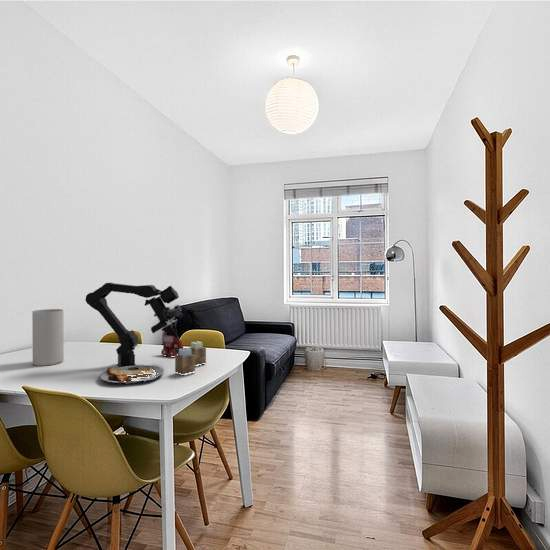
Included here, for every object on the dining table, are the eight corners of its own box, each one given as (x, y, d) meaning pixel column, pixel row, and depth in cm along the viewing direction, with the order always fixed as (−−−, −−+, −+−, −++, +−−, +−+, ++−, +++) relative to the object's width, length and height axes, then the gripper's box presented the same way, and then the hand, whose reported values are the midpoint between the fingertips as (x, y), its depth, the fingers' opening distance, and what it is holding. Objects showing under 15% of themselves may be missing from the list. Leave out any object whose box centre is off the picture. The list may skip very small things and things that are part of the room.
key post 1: (195, 367, 165) (195, 349, 165) (187, 364, 169) (187, 347, 169) (205, 364, 170) (205, 347, 170) (198, 362, 174) (198, 345, 174)
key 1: (195, 360, 167) (196, 343, 167) (191, 359, 169) (191, 342, 169) (202, 359, 170) (202, 342, 170) (197, 357, 172) (197, 341, 172)
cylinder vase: (48, 367, 164) (48, 312, 163) (25, 365, 166) (25, 311, 166) (69, 360, 176) (69, 309, 176) (48, 358, 179) (47, 308, 178)
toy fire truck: (177, 358, 181) (177, 338, 181) (158, 356, 186) (158, 336, 186) (186, 355, 187) (186, 335, 187) (167, 353, 192) (168, 333, 192)
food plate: (93, 388, 135) (93, 379, 135) (104, 372, 157) (104, 364, 157) (163, 384, 142) (163, 376, 142) (164, 369, 164) (164, 361, 164)
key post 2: (183, 376, 151) (183, 357, 151) (175, 373, 155) (175, 355, 155) (195, 373, 156) (195, 354, 155) (186, 370, 160) (187, 352, 159)
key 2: (183, 369, 153) (184, 350, 152) (178, 367, 155) (178, 348, 155) (191, 367, 155) (191, 348, 155) (186, 365, 158) (186, 347, 158)
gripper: (159, 307, 156) (178, 337, 157) (182, 296, 174) (199, 323, 174) (142, 318, 160) (160, 347, 161) (166, 306, 178) (183, 332, 178)
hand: (177, 337), depth 168 cm, fingers closed
